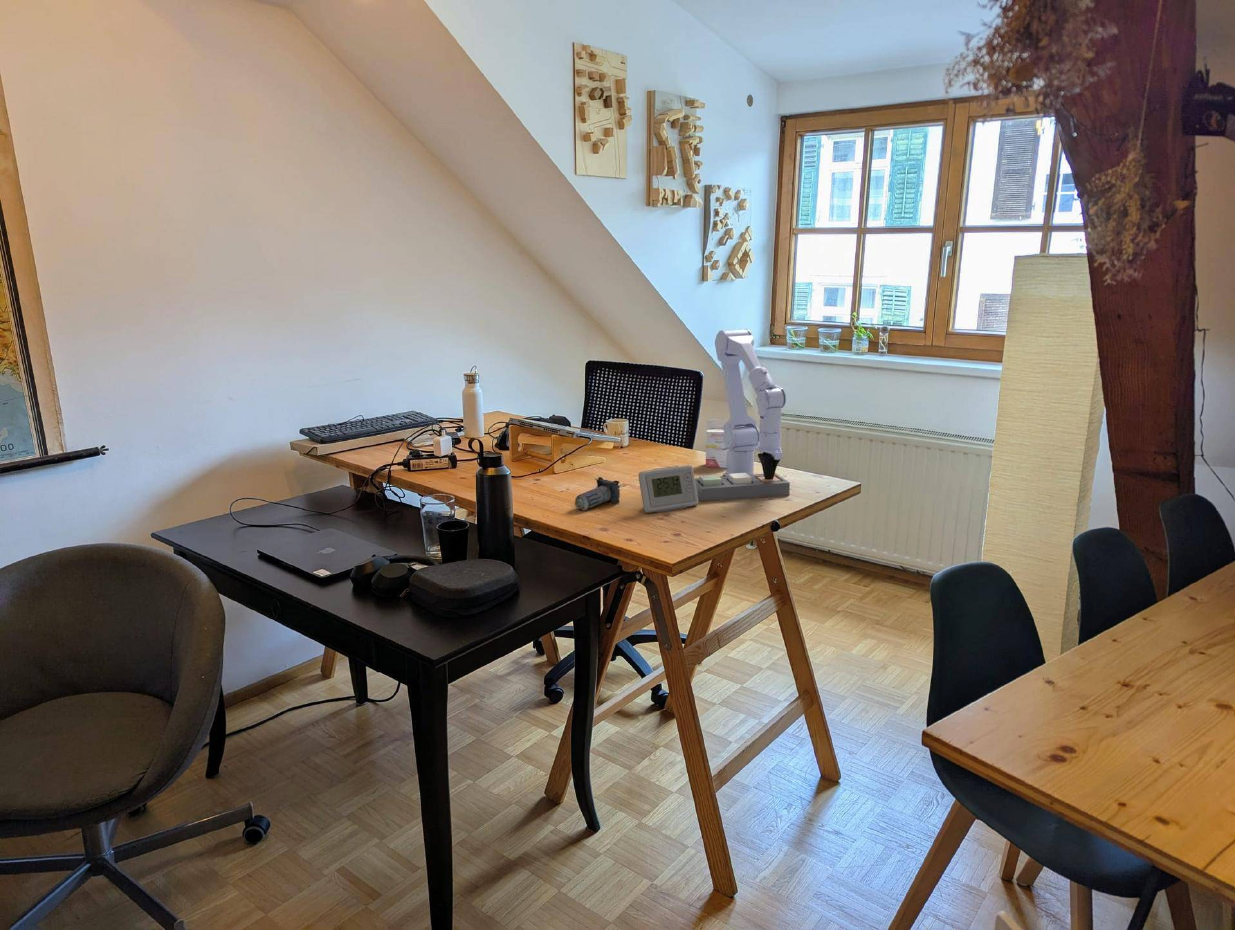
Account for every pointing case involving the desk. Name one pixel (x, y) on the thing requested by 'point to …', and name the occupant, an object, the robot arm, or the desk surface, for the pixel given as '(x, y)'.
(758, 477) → the terracotta key
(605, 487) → the ribbed flanged cylinder
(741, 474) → the cream key
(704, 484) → the sage key
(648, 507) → the digital clock
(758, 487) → the panel
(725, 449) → the ink cartridge box
